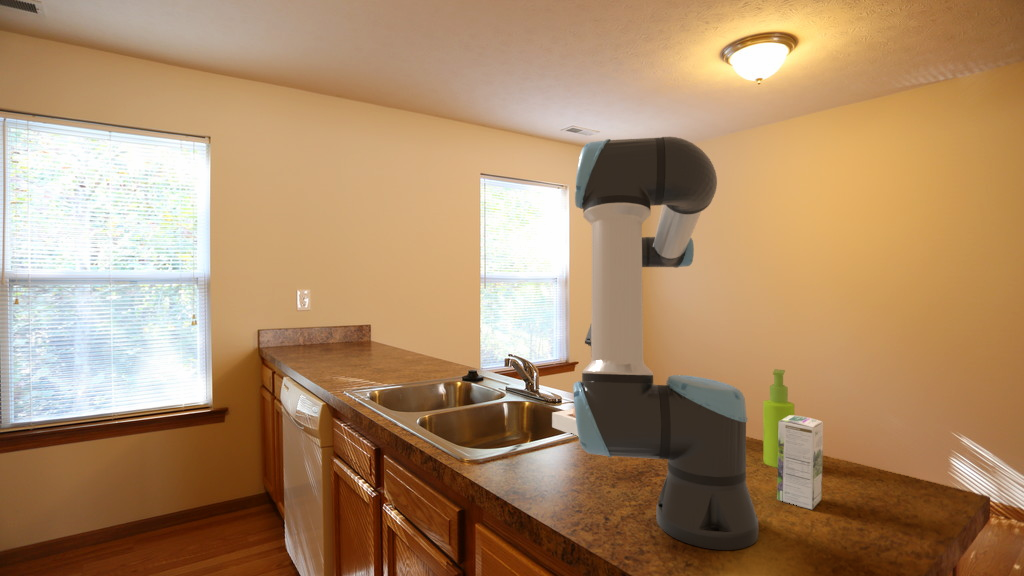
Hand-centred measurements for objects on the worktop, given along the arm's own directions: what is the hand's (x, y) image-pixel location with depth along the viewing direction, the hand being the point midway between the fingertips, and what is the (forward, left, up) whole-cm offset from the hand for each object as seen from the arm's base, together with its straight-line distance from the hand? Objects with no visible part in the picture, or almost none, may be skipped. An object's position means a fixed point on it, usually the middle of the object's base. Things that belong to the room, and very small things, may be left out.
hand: (614, 368), depth 136 cm
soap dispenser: (+8, -40, -16) cm, 44 cm away
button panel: (-2, +2, -16) cm, 16 cm away
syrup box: (-8, -52, -16) cm, 55 cm away
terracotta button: (-10, +2, -13) cm, 17 cm away
